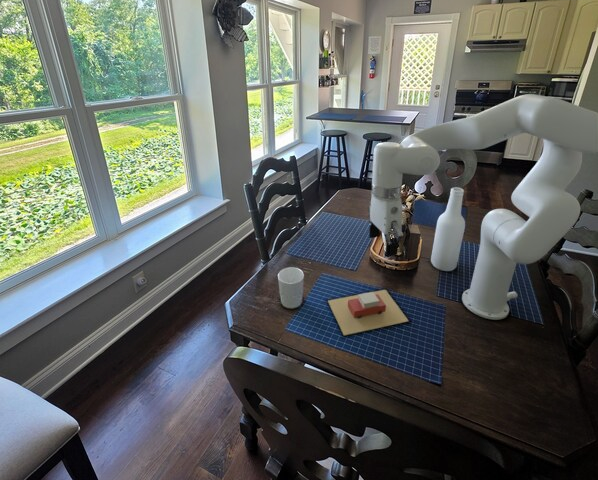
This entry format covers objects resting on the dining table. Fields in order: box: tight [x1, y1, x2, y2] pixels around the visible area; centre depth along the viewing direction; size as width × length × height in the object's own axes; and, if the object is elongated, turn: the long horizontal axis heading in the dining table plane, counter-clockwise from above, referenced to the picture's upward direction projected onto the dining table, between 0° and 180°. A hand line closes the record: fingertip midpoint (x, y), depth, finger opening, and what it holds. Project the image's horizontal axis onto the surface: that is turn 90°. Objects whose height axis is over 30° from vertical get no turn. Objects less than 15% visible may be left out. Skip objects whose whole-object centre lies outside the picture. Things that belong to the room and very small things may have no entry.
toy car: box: [348, 291, 386, 318], centre depth 96 cm, size 10×5×5 cm, turn 104°
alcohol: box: [430, 186, 466, 272], centre depth 112 cm, size 9×9×30 cm
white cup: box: [277, 266, 305, 309], centre depth 99 cm, size 8×8×10 cm
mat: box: [327, 289, 409, 336], centre depth 97 cm, size 20×14×1 cm
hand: (382, 245), depth 91 cm, fingers open, 9 cm apart
